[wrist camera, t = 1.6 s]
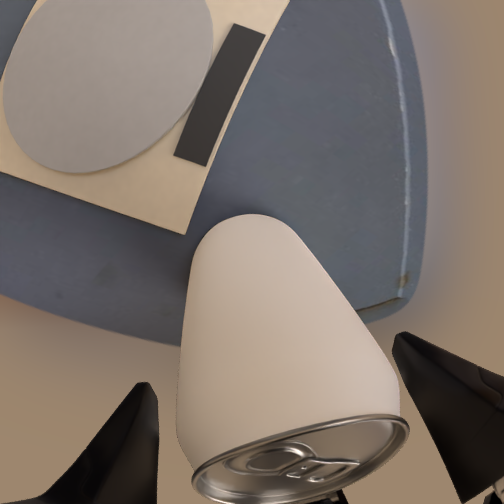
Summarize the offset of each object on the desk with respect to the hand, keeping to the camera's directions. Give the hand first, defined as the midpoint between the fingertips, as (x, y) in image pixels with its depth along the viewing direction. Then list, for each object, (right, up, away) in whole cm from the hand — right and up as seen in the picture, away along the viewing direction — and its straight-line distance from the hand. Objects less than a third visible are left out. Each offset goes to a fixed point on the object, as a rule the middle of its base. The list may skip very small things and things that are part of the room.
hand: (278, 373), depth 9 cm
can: (-1, +3, +7) cm, 8 cm away
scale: (-8, +14, +2) cm, 16 cm away
